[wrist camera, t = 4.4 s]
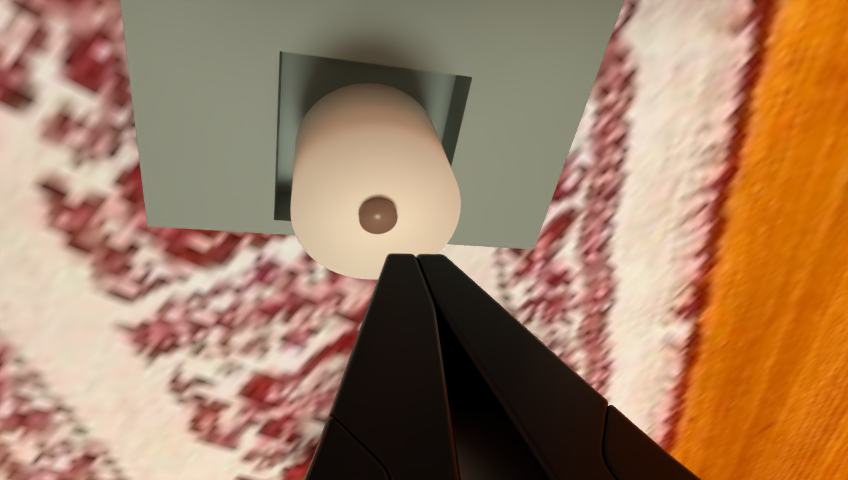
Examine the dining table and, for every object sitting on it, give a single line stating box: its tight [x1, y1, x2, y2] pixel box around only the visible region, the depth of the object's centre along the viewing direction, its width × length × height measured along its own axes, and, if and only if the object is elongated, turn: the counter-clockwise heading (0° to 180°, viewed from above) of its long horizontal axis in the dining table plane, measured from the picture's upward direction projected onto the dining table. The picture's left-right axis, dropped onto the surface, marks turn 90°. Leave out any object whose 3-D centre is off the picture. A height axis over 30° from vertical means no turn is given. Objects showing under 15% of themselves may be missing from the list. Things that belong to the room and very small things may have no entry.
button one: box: [291, 83, 461, 279], centre depth 14 cm, size 4×4×3 cm
